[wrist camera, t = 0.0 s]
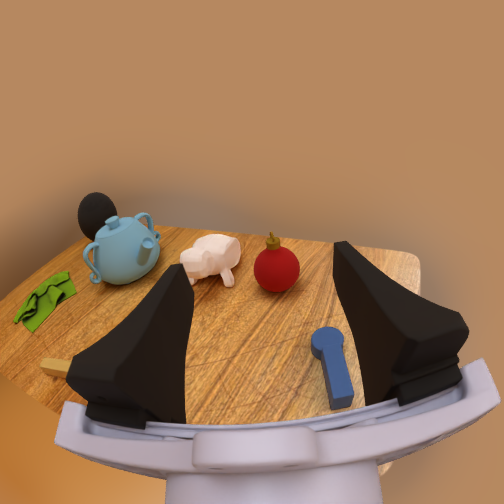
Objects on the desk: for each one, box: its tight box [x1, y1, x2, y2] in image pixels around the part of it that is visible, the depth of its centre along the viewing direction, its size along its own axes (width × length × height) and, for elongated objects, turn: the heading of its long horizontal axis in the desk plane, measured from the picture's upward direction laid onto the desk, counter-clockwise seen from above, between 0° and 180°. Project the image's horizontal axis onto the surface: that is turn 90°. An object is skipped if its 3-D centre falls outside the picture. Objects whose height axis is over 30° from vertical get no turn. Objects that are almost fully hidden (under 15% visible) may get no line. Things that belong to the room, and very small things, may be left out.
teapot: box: [83, 213, 161, 285], centre depth 51 cm, size 20×20×13 cm
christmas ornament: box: [254, 232, 300, 292], centre depth 41 cm, size 7×7×10 cm
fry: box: [39, 357, 72, 378], centre depth 31 cm, size 8×2×2 cm, turn 90°
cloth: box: [13, 271, 77, 333], centre depth 49 cm, size 20×22×2 cm
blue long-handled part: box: [311, 327, 354, 410], centre depth 28 cm, size 11×4×3 cm, turn 0°
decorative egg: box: [78, 192, 117, 241], centre depth 70 cm, size 12×12×15 cm
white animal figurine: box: [180, 234, 241, 287], centre depth 47 cm, size 9×8×15 cm
